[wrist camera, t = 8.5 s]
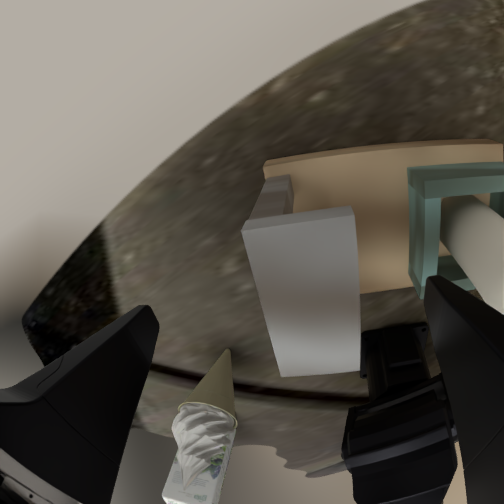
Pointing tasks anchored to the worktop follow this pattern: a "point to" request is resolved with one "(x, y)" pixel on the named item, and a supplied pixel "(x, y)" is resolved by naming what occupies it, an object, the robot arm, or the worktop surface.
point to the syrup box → (199, 480)
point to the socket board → (375, 195)
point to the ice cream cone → (205, 420)
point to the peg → (476, 244)
